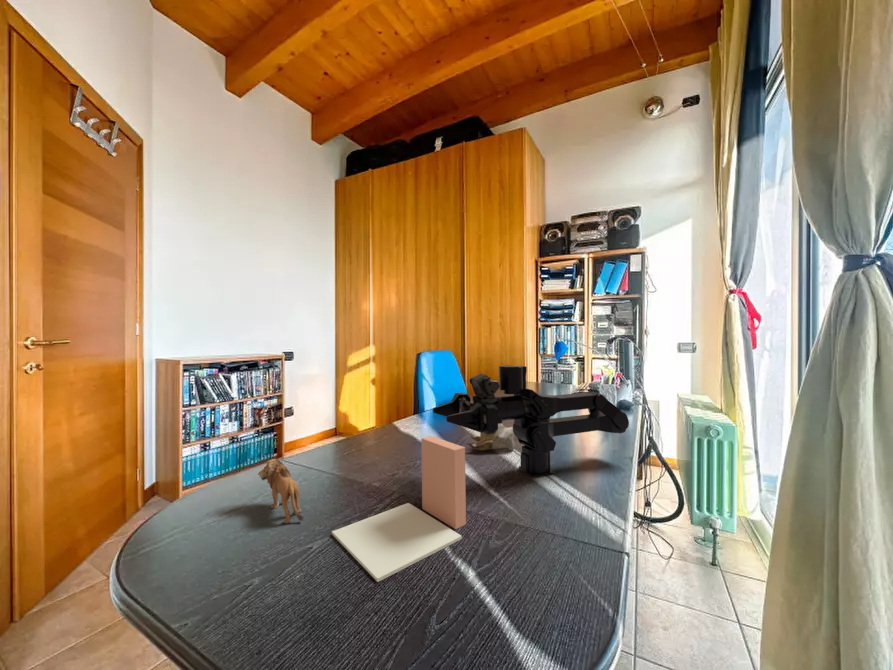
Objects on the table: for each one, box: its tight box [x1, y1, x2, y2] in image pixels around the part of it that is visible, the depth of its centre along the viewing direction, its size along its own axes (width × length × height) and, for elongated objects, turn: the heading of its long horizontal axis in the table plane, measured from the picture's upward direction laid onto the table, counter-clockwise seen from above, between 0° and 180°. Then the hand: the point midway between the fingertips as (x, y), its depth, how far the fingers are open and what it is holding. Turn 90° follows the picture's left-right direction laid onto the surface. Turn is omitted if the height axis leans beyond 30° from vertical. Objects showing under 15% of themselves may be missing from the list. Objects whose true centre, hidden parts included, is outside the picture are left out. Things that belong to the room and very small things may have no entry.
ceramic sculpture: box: [468, 422, 518, 451], centre depth 108 cm, size 11×9×15 cm
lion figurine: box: [257, 458, 305, 524], centre depth 71 cm, size 15×5×9 cm, turn 50°
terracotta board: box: [420, 435, 467, 530], centre depth 68 cm, size 2×10×14 cm, turn 40°
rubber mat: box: [331, 502, 463, 583], centre depth 61 cm, size 16×16×1 cm
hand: (439, 414), depth 81 cm, fingers open, 9 cm apart
